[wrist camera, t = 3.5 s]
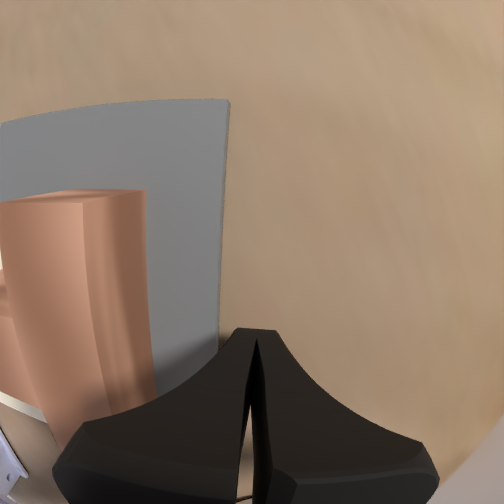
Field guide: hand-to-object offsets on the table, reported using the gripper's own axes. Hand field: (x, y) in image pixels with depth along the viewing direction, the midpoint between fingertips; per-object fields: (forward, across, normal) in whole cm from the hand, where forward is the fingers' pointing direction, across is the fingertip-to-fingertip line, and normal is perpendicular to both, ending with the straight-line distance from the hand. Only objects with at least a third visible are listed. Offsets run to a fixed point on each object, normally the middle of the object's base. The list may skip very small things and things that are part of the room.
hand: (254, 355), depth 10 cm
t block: (+1, +7, 0) cm, 7 cm away
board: (+2, +11, 0) cm, 12 cm away
